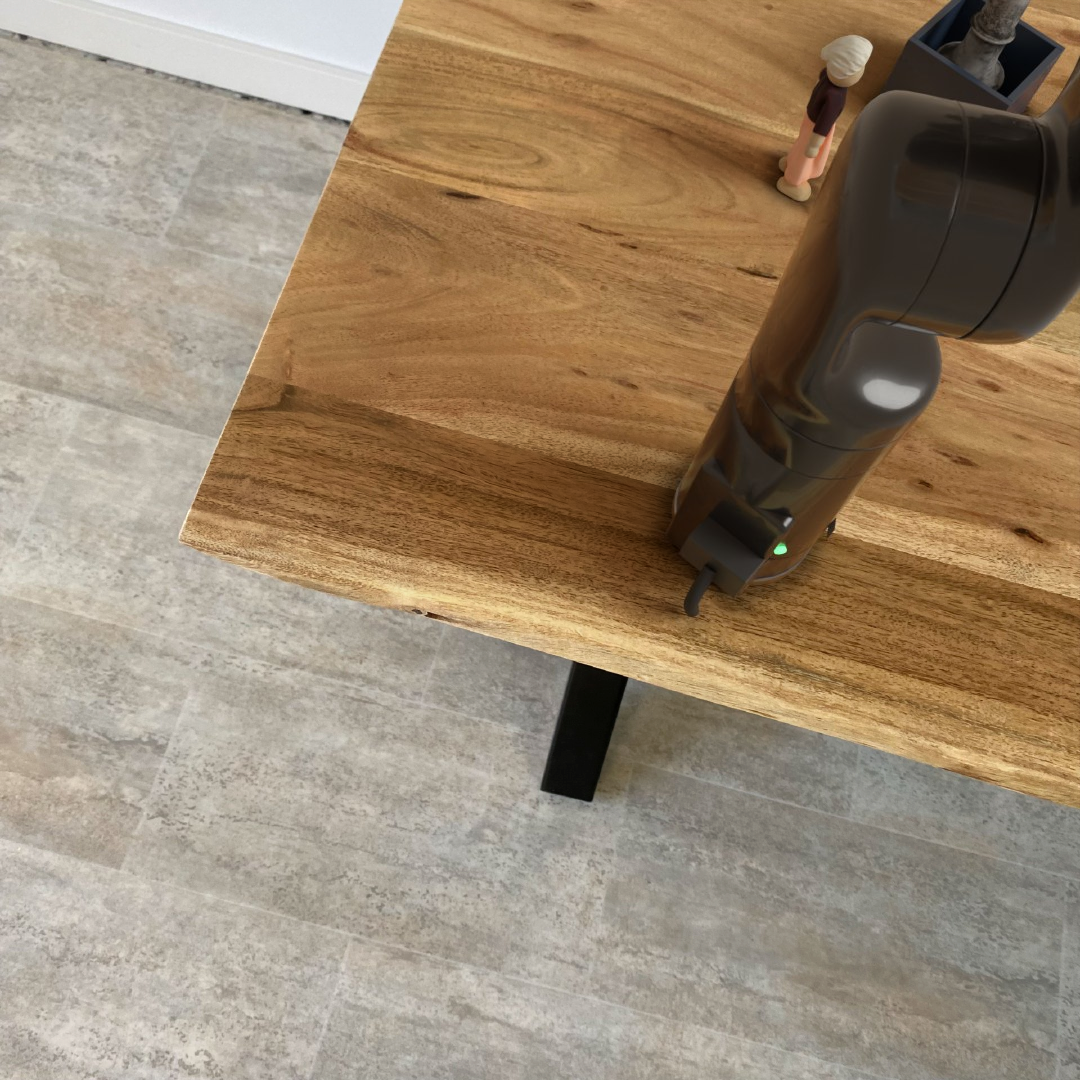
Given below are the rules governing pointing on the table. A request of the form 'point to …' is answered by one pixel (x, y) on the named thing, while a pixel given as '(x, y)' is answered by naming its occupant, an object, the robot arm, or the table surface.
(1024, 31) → the bin
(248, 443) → the table surface
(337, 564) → the table surface
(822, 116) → the grandmother figurine
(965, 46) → the grey chess piece
